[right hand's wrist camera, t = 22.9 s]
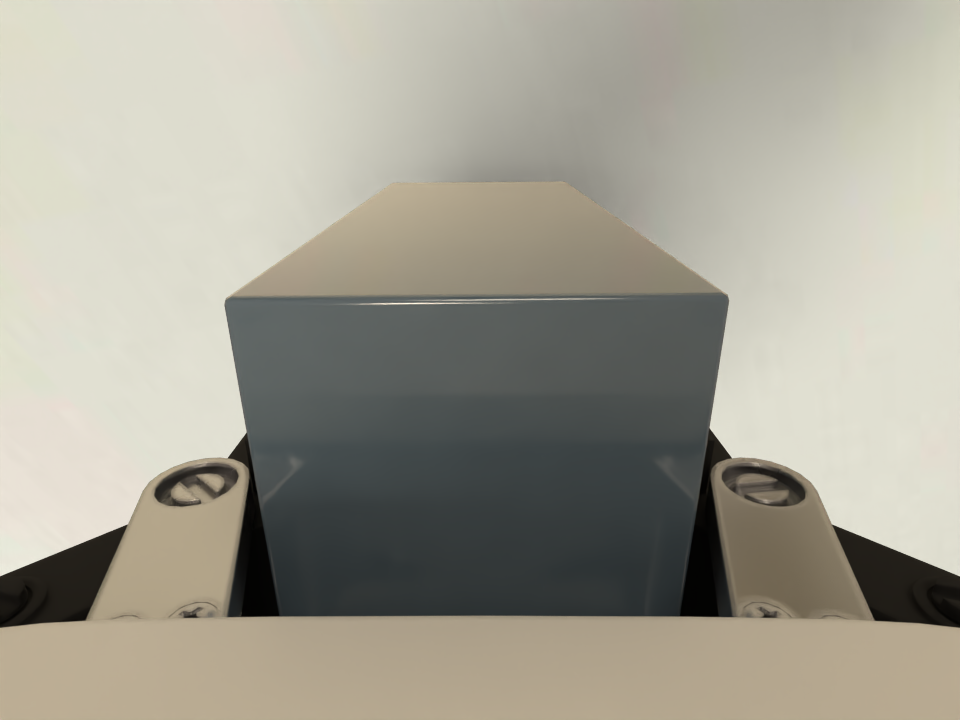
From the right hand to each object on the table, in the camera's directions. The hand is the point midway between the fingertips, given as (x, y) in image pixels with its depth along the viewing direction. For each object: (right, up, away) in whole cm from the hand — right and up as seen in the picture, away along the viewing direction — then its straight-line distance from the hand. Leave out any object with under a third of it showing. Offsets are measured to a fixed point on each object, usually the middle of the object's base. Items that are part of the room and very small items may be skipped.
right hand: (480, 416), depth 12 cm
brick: (0, +2, +6) cm, 6 cm away
